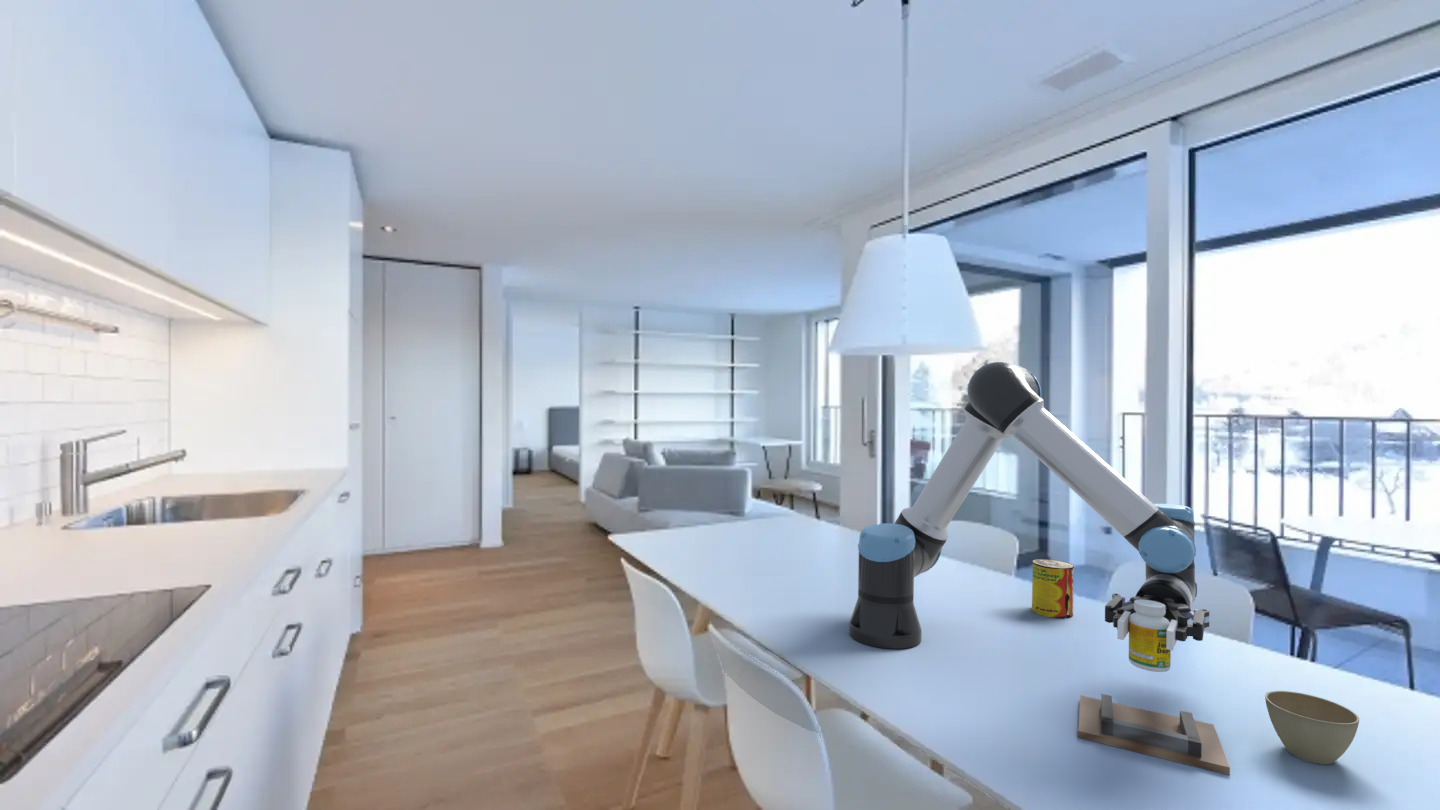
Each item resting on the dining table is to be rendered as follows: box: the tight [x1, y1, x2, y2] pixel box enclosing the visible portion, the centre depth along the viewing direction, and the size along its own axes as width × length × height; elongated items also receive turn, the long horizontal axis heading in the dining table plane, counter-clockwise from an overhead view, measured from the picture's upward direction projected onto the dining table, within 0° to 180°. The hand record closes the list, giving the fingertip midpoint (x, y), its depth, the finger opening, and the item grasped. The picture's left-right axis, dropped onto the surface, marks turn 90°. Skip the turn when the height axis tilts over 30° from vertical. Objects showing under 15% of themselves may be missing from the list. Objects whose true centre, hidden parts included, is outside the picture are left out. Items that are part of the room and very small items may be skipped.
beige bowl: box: [1264, 690, 1360, 765], centre depth 92 cm, size 10×10×7 cm
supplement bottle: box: [1128, 600, 1172, 673], centre depth 97 cm, size 5×5×10 cm
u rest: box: [1077, 693, 1231, 776], centre depth 97 cm, size 18×14×3 cm
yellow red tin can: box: [1031, 558, 1075, 619], centre depth 156 cm, size 9×9×12 cm
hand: (1144, 635), depth 93 cm, fingers closed on supplement bottle, 5 cm apart
